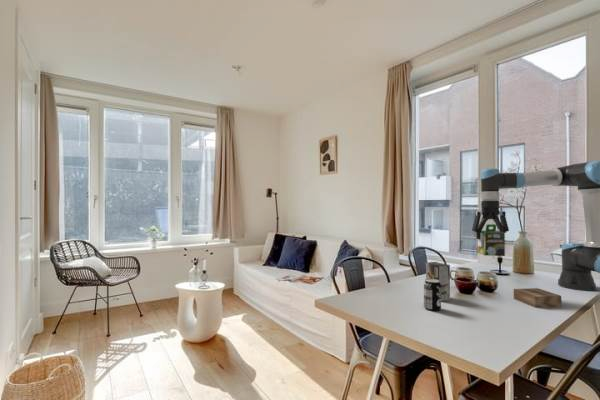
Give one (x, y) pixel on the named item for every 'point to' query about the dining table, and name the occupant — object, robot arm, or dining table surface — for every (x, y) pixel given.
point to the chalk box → (492, 242)
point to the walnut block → (537, 297)
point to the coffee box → (440, 277)
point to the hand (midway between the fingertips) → (490, 246)
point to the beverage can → (432, 294)
